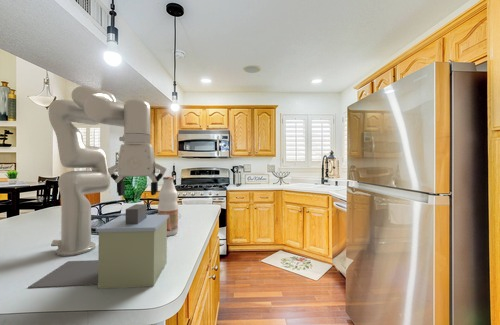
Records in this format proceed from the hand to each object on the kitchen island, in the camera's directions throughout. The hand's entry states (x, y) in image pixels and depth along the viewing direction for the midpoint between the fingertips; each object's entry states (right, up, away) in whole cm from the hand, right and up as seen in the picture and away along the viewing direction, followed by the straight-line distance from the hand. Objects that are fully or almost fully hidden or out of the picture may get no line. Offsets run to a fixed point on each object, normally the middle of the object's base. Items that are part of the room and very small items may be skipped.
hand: (137, 194), depth 74 cm
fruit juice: (-5, -25, +42) cm, 49 cm away
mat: (-19, -25, +1) cm, 31 cm away
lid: (-1, -9, 0) cm, 9 cm away
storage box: (-1, -25, 0) cm, 25 cm away
